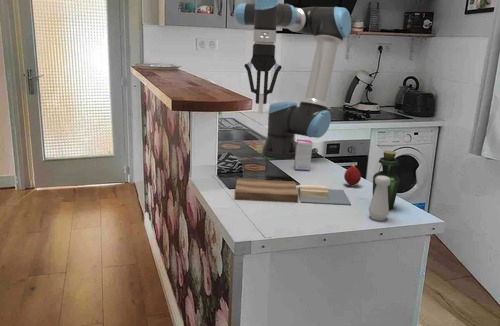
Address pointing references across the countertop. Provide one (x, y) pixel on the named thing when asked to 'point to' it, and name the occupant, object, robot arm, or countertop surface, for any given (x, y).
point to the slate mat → (329, 198)
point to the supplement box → (303, 155)
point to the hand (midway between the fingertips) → (260, 113)
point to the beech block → (313, 192)
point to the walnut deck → (266, 190)
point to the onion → (352, 175)
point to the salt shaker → (380, 199)
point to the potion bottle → (387, 166)
